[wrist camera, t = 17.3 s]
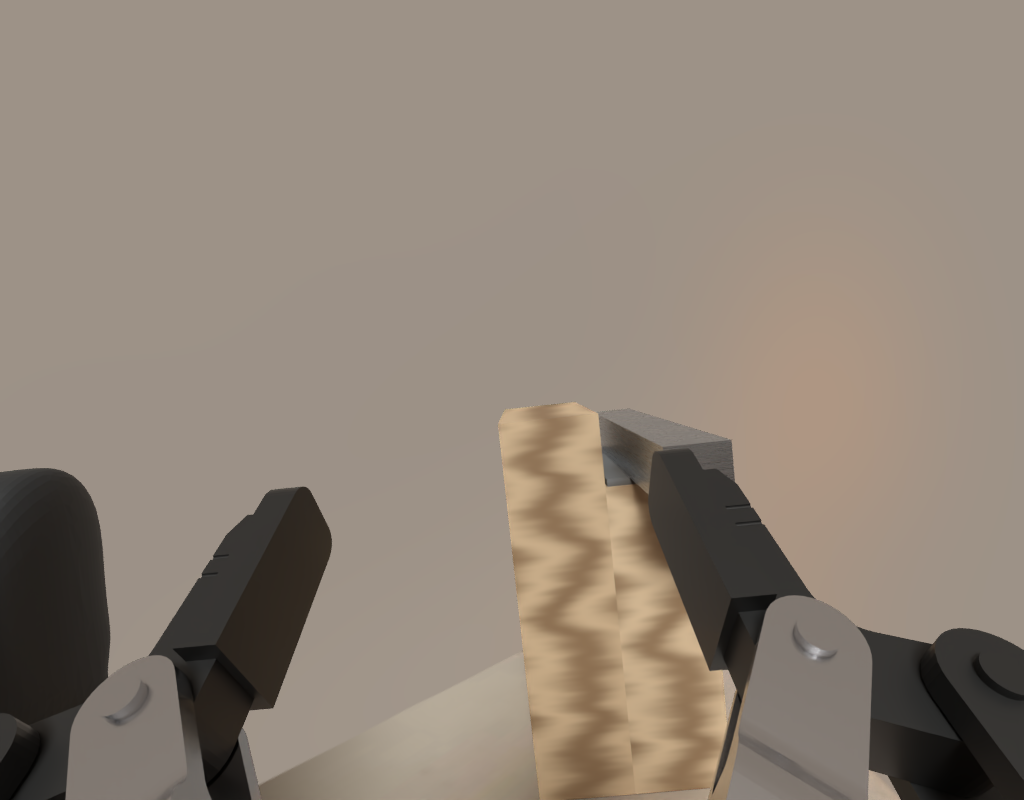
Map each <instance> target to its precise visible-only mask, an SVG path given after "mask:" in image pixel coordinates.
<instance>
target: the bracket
mask: <svg viewBox="0 0 1024 800" xmlns="http://www.w3.org/2000/svg"><path fill="white" fill-rule="evenodd" d="M498 428H499V437H500V446H501V455H502V464H503V473H504V482H505V491H506V500H507V509H508V517H509V527H510V536H511V545H512V554H513V563H514V571H515V581H516V590H517V598H518V608H519V617H520V626H521V635H522V644H523V653H524V662H525V671H526V680H527V689H528V698H529V707H530V716H531V725H532V734H533V743H534V752H535V761H536V770H537V779H538V789H539V798H540V800H571V799H583V798H595V797H607V796H619V795H631V794H643V793H655V792H667V791H679V790H691V789H703V788H711V786H712V782H713V778H714V774H715V770H716V766H717V762H718V758H719V754H720V750H721V746H722V742H723V739H724V735H725V731H726V727H727V719H726V707H725V695H724V684H723V672H722V670H716V671H709V668H708V666H707V663H706V661H705V658H704V655H703V653H702V650H701V648H700V645H699V643H698V640H697V638H696V635H695V633H694V630H693V627H692V625H691V622H690V620H689V617H688V615H687V612H686V610H685V607H684V604H683V602H682V599H681V597H680V594H679V592H678V589H677V587H676V584H675V581H674V579H673V576H672V574H671V571H670V569H669V566H668V564H667V561H666V559H665V556H664V553H663V551H662V548H661V546H660V543H659V541H658V538H657V536H656V533H655V530H654V528H653V525H652V522H651V518H650V514H649V506H648V494H647V493H646V492H645V491H644V490H643V489H642V488H640V487H639V486H638V485H637V484H636V483H635V482H634V481H633V480H632V479H631V478H630V477H629V476H628V475H627V474H625V473H624V472H623V471H622V470H621V469H620V468H619V467H618V466H617V465H616V464H615V463H614V462H613V461H611V460H610V459H609V458H608V457H607V456H606V455H605V454H604V453H603V452H602V448H601V437H600V427H599V417H598V413H596V412H594V411H592V410H590V409H588V408H586V407H584V406H581V405H579V404H578V403H576V402H572V403H562V404H553V405H543V406H534V407H525V408H515V409H505V411H504V413H503V415H502V417H501V419H500V421H499V424H498Z"/></svg>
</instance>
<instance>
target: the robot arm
mask: <svg viewBox="0 0 1024 800" xmlns="http://www.w3.org/2000/svg"><path fill="white" fill-rule="evenodd" d="M648 506H649V514H650V518H651V522H652V525H653V528H654V530H655V533H656V536H657V538H658V541H659V543H660V546H661V548H662V551H663V553H664V556H665V559H666V561H667V564H668V566H669V569H670V571H671V574H672V576H673V579H674V581H675V584H676V587H677V589H678V592H679V594H680V597H681V599H682V602H683V604H684V607H685V610H686V612H687V615H688V617H689V620H690V622H691V625H692V627H693V630H694V633H695V635H696V638H697V640H698V643H699V645H700V648H701V650H702V653H703V655H704V658H705V661H706V663H707V666H708V668H709V671H716V670H727V669H728V670H729V672H730V675H731V677H732V679H733V682H734V684H735V686H736V692H735V695H734V699H733V703H732V707H731V711H730V715H729V719H728V723H727V727H726V731H725V735H724V739H723V742H722V746H721V750H720V754H719V758H718V762H717V766H716V770H715V774H714V778H713V782H712V786H711V790H710V794H709V797H708V800H868V775H869V770H871V771H875V772H878V773H882V774H885V775H888V777H889V779H890V780H891V782H892V784H893V786H894V788H895V790H896V791H897V793H898V795H899V797H900V799H901V800H1024V650H1022V649H1021V648H1019V647H1018V646H1016V645H1014V644H1012V643H1010V642H1008V641H1006V640H1004V639H1002V638H1000V637H997V636H995V635H992V634H989V633H986V632H982V631H979V630H973V629H963V628H958V629H951V630H948V631H945V632H944V633H942V634H941V635H940V636H939V637H938V638H937V639H936V641H935V642H934V643H933V644H929V643H924V642H919V641H914V640H909V639H904V638H900V637H895V636H890V635H885V634H881V633H876V632H872V631H868V630H865V629H862V628H859V627H857V626H855V624H854V623H853V622H851V621H850V620H849V619H848V618H847V617H846V616H845V615H844V614H842V613H841V612H840V611H838V610H836V609H835V608H833V607H832V606H830V605H828V604H826V603H824V602H822V601H819V600H816V599H815V598H814V597H813V596H812V595H811V593H810V592H809V591H808V589H807V588H806V586H805V585H804V583H803V582H802V580H801V579H800V577H799V576H798V575H797V573H796V571H795V570H794V568H793V567H792V566H791V565H790V562H789V561H788V560H787V558H786V557H785V555H784V554H783V552H782V551H781V549H780V548H779V546H778V544H777V543H776V542H775V540H774V539H773V537H772V536H771V534H770V533H769V531H768V530H767V528H766V527H765V525H762V523H761V519H760V518H759V516H758V515H757V513H756V512H755V510H754V509H753V508H751V506H750V503H749V501H748V500H747V498H746V497H745V495H744V494H743V492H742V491H741V489H740V488H739V486H738V485H737V484H736V483H735V482H734V481H732V480H731V479H730V478H728V477H727V476H726V475H725V474H723V473H722V472H721V471H719V470H718V469H707V470H703V468H702V467H701V465H700V463H699V462H698V460H697V458H696V457H695V455H694V453H693V452H692V451H691V450H690V449H689V448H683V449H673V450H663V451H655V452H654V453H653V456H652V464H651V474H650V485H649V495H648ZM331 547H332V539H331V533H330V530H329V527H328V526H327V523H326V521H325V519H324V517H323V515H322V513H321V512H320V509H319V507H318V505H317V503H316V501H315V499H314V497H313V495H312V493H311V491H310V490H309V489H308V488H306V487H295V488H285V489H275V490H270V491H269V492H268V493H267V494H266V495H265V496H264V498H263V499H262V501H261V503H260V504H259V506H258V508H257V510H256V511H255V513H254V514H253V515H247V516H246V517H245V518H244V519H243V520H242V521H241V522H240V523H239V524H238V525H236V526H235V527H234V528H233V529H232V530H231V531H230V532H229V533H228V534H227V535H226V536H225V538H224V540H223V541H222V543H221V544H220V546H219V547H218V549H217V550H216V552H215V554H214V555H213V557H214V558H213V560H210V561H209V563H208V565H207V566H206V568H205V569H204V571H203V572H202V577H201V578H199V579H198V580H197V582H196V583H195V585H194V586H193V588H192V590H191V591H190V593H189V594H188V596H187V597H186V599H185V601H184V602H183V604H182V605H181V607H180V608H179V610H178V612H177V613H176V615H175V616H174V618H173V619H172V621H171V622H170V624H169V626H168V627H167V629H166V630H165V632H164V633H163V635H162V636H161V638H160V640H159V641H158V643H157V644H156V646H155V647H154V649H153V650H152V652H151V653H150V654H149V656H147V657H143V658H140V659H138V660H135V661H133V662H131V663H129V664H127V665H125V666H124V667H122V668H121V669H119V670H117V671H116V672H115V673H113V674H112V675H111V676H110V677H108V660H109V648H110V625H109V615H108V607H107V598H106V587H105V576H104V562H103V548H102V539H101V530H100V525H99V520H98V516H97V511H96V508H95V506H94V503H93V501H92V499H91V496H90V495H89V493H88V492H87V490H86V489H85V487H84V486H83V485H82V484H81V482H79V481H78V480H77V479H76V478H75V477H74V476H72V475H70V474H68V473H66V472H64V471H61V470H56V469H49V468H36V469H25V470H14V471H7V472H0V800H262V798H261V794H260V790H259V786H258V781H257V777H256V773H255V769H254V764H253V760H252V756H251V752H250V748H249V743H248V739H247V736H246V733H245V731H244V730H243V728H242V727H243V725H244V722H245V720H246V717H247V715H248V712H249V710H258V709H269V708H273V707H274V705H275V702H276V699H277V697H278V694H279V691H280V689H281V686H282V683H283V680H284V678H285V675H286V672H287V670H288V667H289V664H290V662H291V659H292V656H293V654H294V651H295V648H296V646H297V643H298V640H299V638H300V635H301V632H302V629H303V627H304V624H305V622H306V618H307V616H308V613H309V611H310V608H311V605H312V602H313V600H314V597H315V595H316V592H317V589H318V586H319V584H320V581H321V578H322V576H323V573H324V571H325V568H326V565H327V562H328V560H329V557H330V553H331Z"/></svg>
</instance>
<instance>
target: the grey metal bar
mask: <svg viewBox="0 0 1024 800" xmlns="http://www.w3.org/2000/svg"><path fill="white" fill-rule="evenodd" d="M596 413H598V417H599V427H600V437H601V448H602V452H603V453H604V454H605V455H606V456H607V457H608V458H609V459H610V460H611V461H613V462H614V463H615V464H616V465H617V466H618V467H619V468H620V469H621V470H622V471H623V472H624V473H625V474H627V475H628V476H629V477H630V478H631V479H632V480H633V481H634V482H635V483H636V484H637V485H638V486H639V487H640V488H642V489H643V490H644V491H645V492H646V493H647V494H648V495H649V485H650V474H651V464H652V456H653V453H654V452H655V451H663V450H673V449H683V448H689V449H690V450H691V451H692V452H693V453H694V455H695V457H696V458H697V460H698V462H699V463H700V465H701V467H702V468H703V470H707V469H718V470H719V471H721V472H722V473H723V474H725V475H726V476H727V477H728V478H730V479H731V480H732V481H734V482H735V479H734V466H733V454H732V443H731V440H730V439H727V438H723V437H720V436H717V435H714V434H710V433H707V432H703V431H701V430H697V429H694V428H691V427H687V426H684V425H681V424H677V423H674V422H671V421H668V420H664V419H661V418H658V417H654V416H651V415H648V414H645V413H641V412H638V411H635V410H631V409H621V410H612V411H602V412H596Z"/></svg>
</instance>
